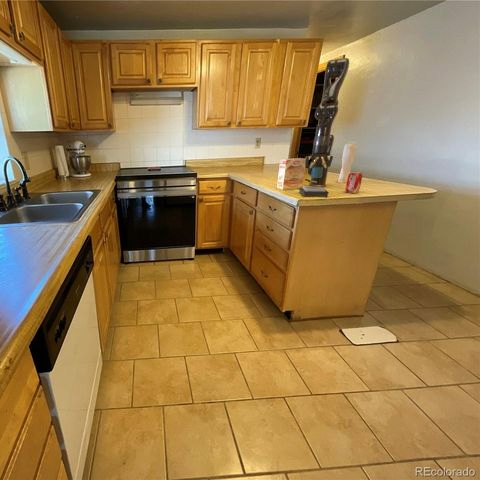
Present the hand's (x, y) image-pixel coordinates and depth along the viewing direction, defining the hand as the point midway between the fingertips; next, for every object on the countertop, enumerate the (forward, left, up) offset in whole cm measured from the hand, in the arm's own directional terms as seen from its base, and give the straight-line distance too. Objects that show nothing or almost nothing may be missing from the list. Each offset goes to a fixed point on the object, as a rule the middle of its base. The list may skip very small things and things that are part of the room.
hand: (316, 174), depth 156 cm
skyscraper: (-46, +30, -12) cm, 56 cm away
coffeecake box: (-20, -10, -12) cm, 26 cm away
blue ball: (0, 0, -2) cm, 2 cm away
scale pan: (0, 0, -9) cm, 9 cm away
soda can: (-8, +23, -12) cm, 27 cm away
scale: (0, 0, -12) cm, 12 cm away
